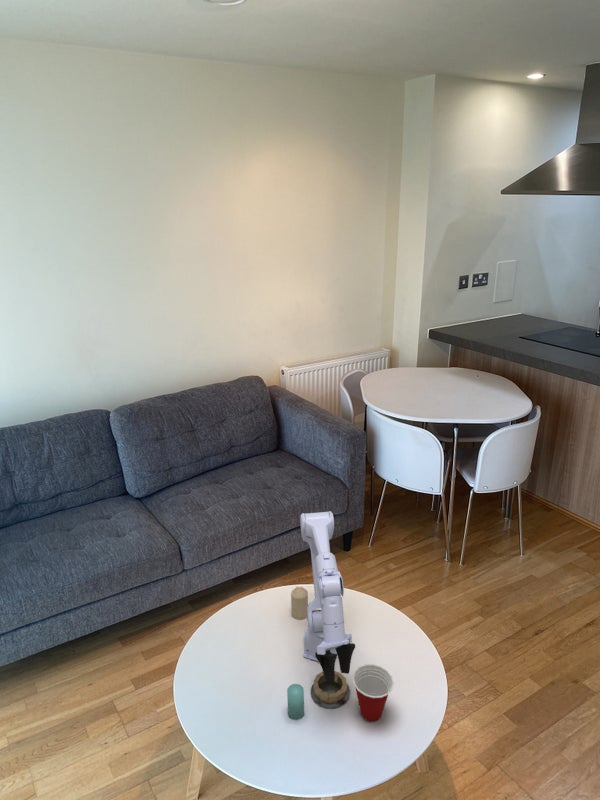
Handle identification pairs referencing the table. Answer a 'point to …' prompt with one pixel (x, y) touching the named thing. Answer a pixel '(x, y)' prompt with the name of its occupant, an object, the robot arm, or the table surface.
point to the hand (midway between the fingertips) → (337, 677)
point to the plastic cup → (372, 690)
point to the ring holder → (330, 691)
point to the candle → (299, 603)
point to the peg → (295, 701)
